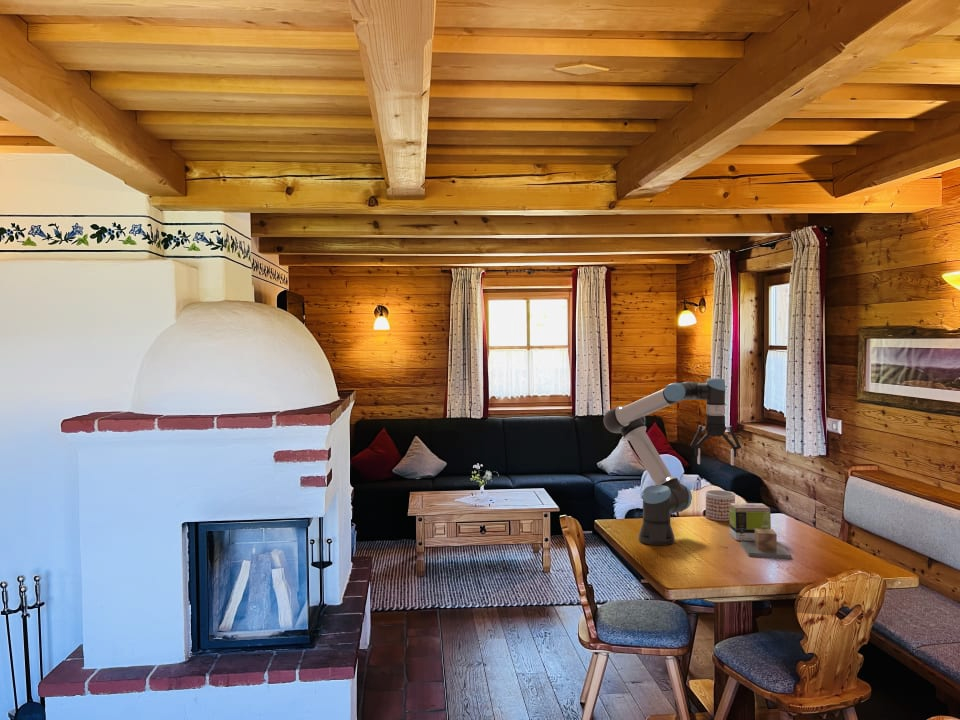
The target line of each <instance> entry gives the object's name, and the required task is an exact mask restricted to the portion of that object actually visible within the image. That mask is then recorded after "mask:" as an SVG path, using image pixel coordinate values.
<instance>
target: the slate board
mask: <svg viewBox="0 0 960 720" xmlns="http://www.w3.org/2000/svg"><path fill="white" fill-rule="evenodd" d="M740 546H741V547H742V549H743V550H744V552H745V553H746V555H747V556H748V557H751V558H752V557H753V558H755V557H756V558H768V559H769V558H770V559H771V558H772V559H787V560H788V559H790V560H791V559H792V554H791V553H790V552H789V550H787V549H786V547H784V545H783V544H781V543H777V551H765V550H758V549H757V548H756V546H755V541H740Z"/></svg>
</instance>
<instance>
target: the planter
mask: <svg viewBox="0 0 960 720" xmlns="http://www.w3.org/2000/svg"><path fill="white" fill-rule="evenodd" d="M730 503H736V493H734V492H732V491H728V490H721V489H719V490H718V489H711V490H707V491H705V518H706V519H707V520H711V521H715V522H726V523H727V522H728V523H730V508H729V504H730Z"/></svg>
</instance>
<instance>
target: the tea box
mask: <svg viewBox="0 0 960 720" xmlns="http://www.w3.org/2000/svg"><path fill="white" fill-rule="evenodd" d="M729 508H730V521H729V535H730V536H731V537H732V538H733V539H734V540H735V541H745V542H755V529H772V526H771V525H772V524H771V523H772V522H771V518H772V517H771V508H770V507H769V506H767V505H766V504H764V503H761V502H760V503H757V502H756V503H755V502H753V503H752V502H751V503H749V502H747V503H746V502H745V503H743V502H741V503H740V502H739V503H738V502H735V503H730V504H729Z"/></svg>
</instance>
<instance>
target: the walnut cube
mask: <svg viewBox="0 0 960 720" xmlns="http://www.w3.org/2000/svg"><path fill="white" fill-rule="evenodd" d="M777 535H778V534H777V532H775V530H773V529H772V528H771V529H755V541H754V542H755V546H756V548H757V549H758V550H765V551H777V542H778V540H777V537H778V536H777Z"/></svg>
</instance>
